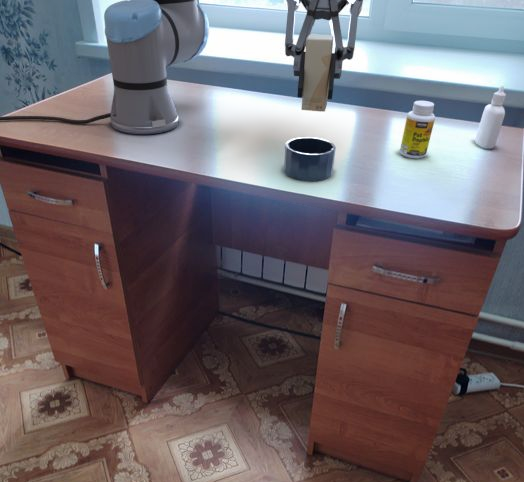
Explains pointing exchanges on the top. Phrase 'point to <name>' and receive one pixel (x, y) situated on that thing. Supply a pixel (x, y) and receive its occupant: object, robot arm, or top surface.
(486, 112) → the eye dropper bottle
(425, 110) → the supplement bottle
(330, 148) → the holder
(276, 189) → the top surface
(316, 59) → the box
